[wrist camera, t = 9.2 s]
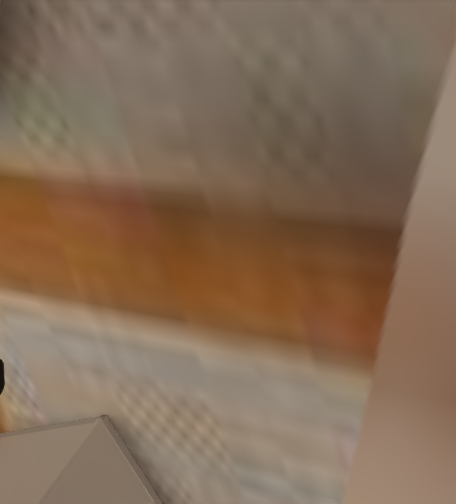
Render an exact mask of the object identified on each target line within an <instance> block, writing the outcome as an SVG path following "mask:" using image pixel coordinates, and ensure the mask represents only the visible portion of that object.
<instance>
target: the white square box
mask: <svg viewBox="0 0 456 504" xmlns="http://www.w3.org/2000/svg"><path fill="white" fill-rule="evenodd" d="M0 504H162V502H161V500H160V499H159V497H158V496H157V494H156V493H155V491H154V490H153V488H152V486H151V485H150V483H149V482H148V480H147V479H146V477H145V475H144V474H143V472H142V471H141V469H140V468H139V466H138V464H137V463H136V461H135V460H134V458H133V457H132V455H131V454H130V452H129V450H128V449H127V447H126V446H125V444H124V443H123V441H122V439H121V438H120V436H119V435H118V433H117V432H116V430H115V428H114V427H113V425H112V424H111V422H110V421H109V419H108V418H107V416H102V417H96V418H90V419H84V420H78V421H72V422H66V423H60V424H54V425H48V426H42V427H36V428H30V429H24V430H18V431H12V432H6V433H1V434H0Z"/></svg>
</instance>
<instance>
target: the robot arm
mask: <svg viewBox="0 0 456 504" xmlns="http://www.w3.org/2000/svg"><path fill="white" fill-rule="evenodd" d="M4 385H5V380H4V363H3V361H2V360H1V359H0V394H1V393H2V391H3V389H4Z"/></svg>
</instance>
